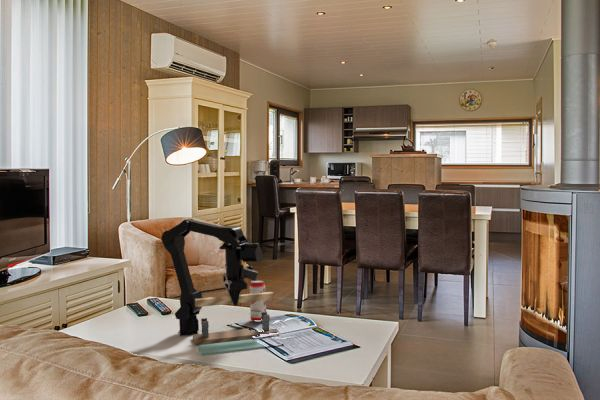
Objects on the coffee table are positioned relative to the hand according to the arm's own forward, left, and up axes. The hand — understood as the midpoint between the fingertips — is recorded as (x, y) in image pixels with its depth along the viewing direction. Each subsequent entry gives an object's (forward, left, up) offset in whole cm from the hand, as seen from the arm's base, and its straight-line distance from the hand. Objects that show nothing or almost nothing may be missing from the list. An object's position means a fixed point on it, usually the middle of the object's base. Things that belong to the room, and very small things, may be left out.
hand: (235, 304), depth 191 cm
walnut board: (0, 0, -12) cm, 12 cm away
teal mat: (0, -10, -12) cm, 16 cm away
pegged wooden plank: (0, 0, -10) cm, 10 cm away
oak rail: (0, 0, +1) cm, 1 cm away
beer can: (+12, +18, -12) cm, 25 cm away
